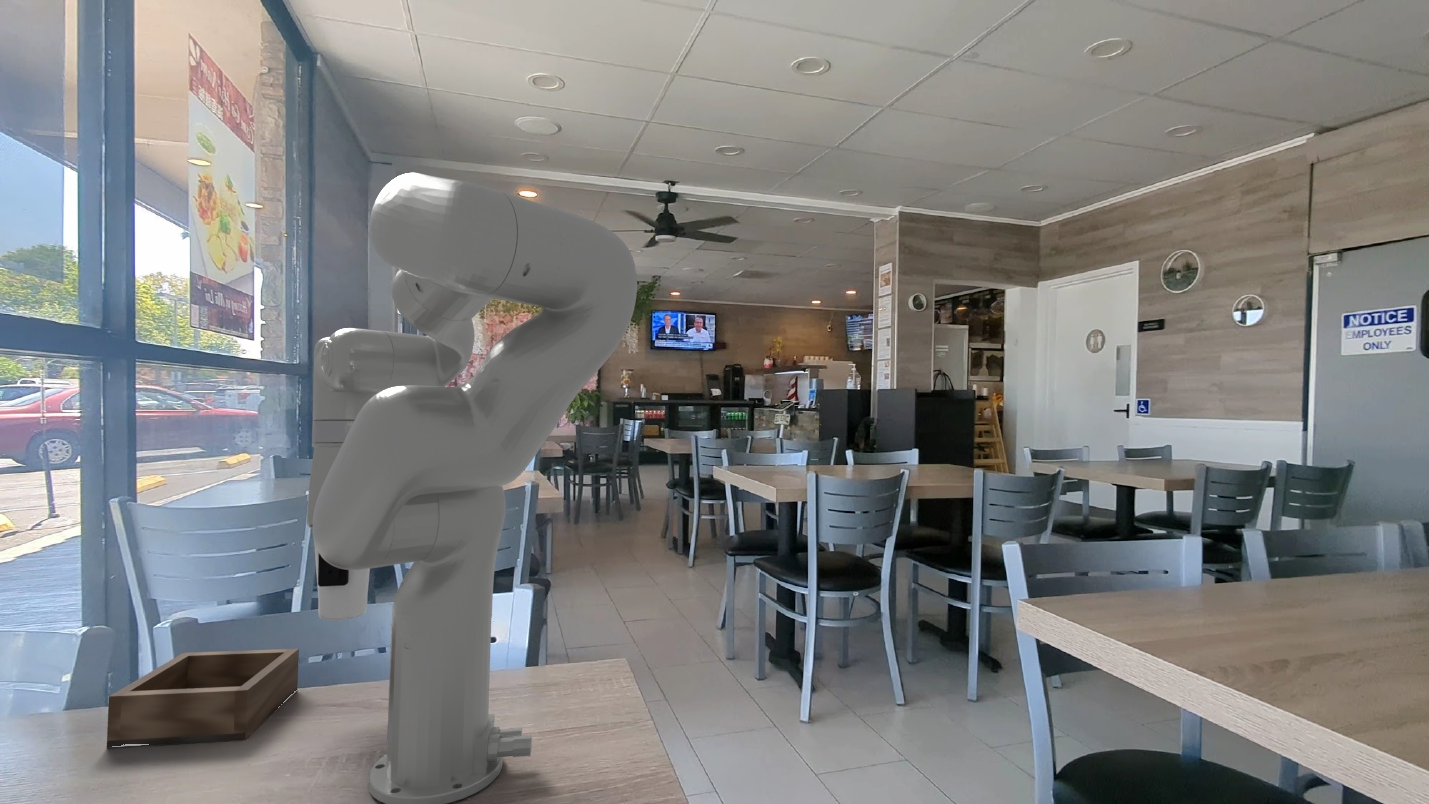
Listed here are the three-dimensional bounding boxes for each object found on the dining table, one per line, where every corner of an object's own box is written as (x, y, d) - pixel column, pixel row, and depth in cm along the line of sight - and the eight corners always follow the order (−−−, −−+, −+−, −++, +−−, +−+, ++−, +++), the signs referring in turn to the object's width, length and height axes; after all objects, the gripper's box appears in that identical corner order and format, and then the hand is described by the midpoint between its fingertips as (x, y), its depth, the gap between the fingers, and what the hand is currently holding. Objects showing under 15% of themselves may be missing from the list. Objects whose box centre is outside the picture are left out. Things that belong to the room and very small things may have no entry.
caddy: (297, 691, 87) (298, 648, 87) (245, 740, 74) (247, 690, 74) (181, 696, 85) (183, 652, 85) (106, 748, 72) (108, 696, 72)
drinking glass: (384, 609, 87) (386, 492, 87) (351, 624, 80) (353, 498, 80) (335, 608, 87) (337, 492, 88) (298, 623, 80) (300, 497, 81)
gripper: (339, 435, 92) (336, 567, 92) (283, 435, 75) (279, 597, 75) (397, 435, 94) (395, 564, 93) (355, 435, 77) (352, 594, 76)
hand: (343, 577), depth 84 cm, fingers closed on drinking glass, 6 cm apart
